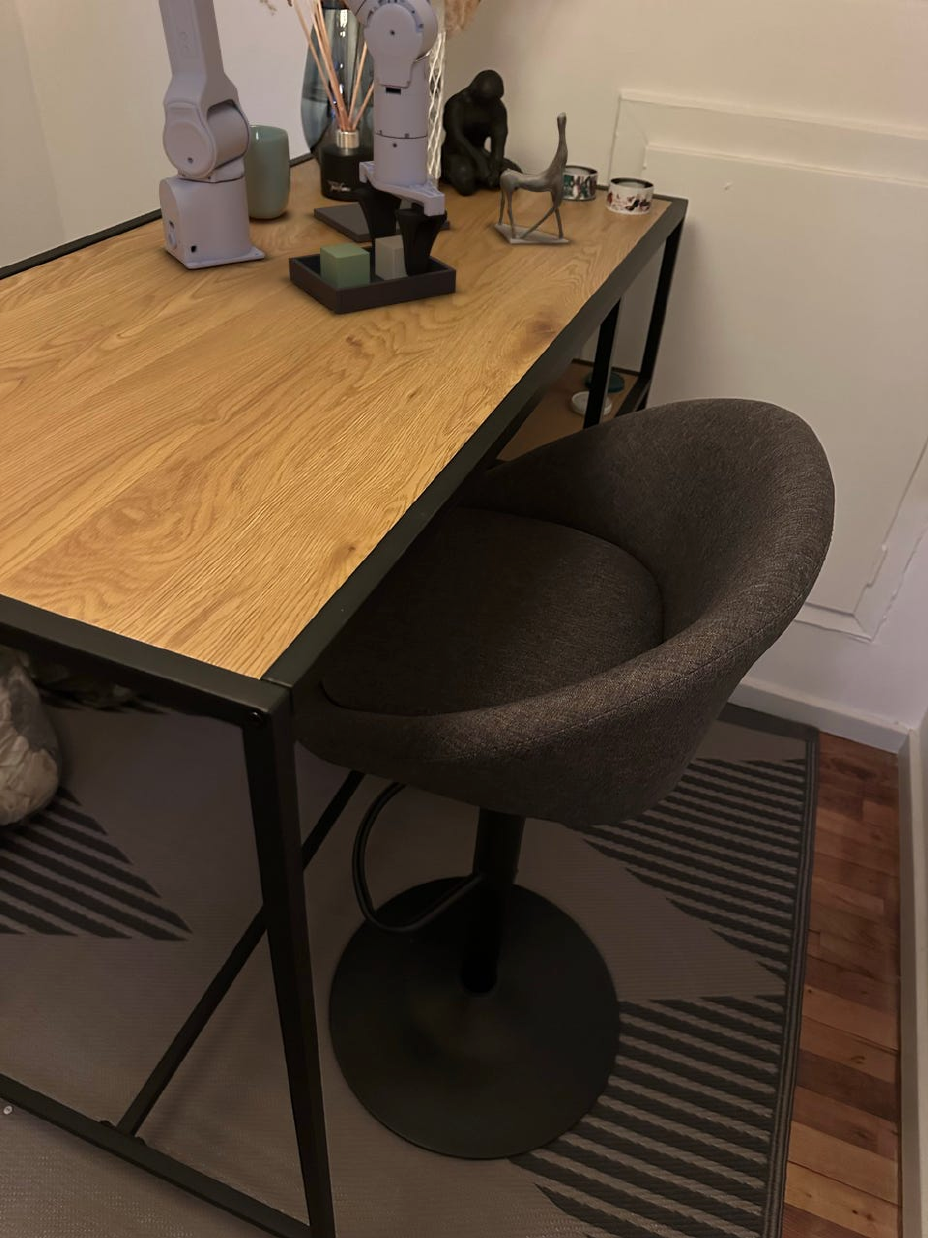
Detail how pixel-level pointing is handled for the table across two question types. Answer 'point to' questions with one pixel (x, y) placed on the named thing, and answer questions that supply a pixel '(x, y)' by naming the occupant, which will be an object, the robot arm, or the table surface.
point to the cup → (267, 172)
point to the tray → (371, 284)
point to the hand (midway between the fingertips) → (399, 264)
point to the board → (354, 220)
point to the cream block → (390, 257)
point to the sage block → (345, 265)
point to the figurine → (536, 183)
